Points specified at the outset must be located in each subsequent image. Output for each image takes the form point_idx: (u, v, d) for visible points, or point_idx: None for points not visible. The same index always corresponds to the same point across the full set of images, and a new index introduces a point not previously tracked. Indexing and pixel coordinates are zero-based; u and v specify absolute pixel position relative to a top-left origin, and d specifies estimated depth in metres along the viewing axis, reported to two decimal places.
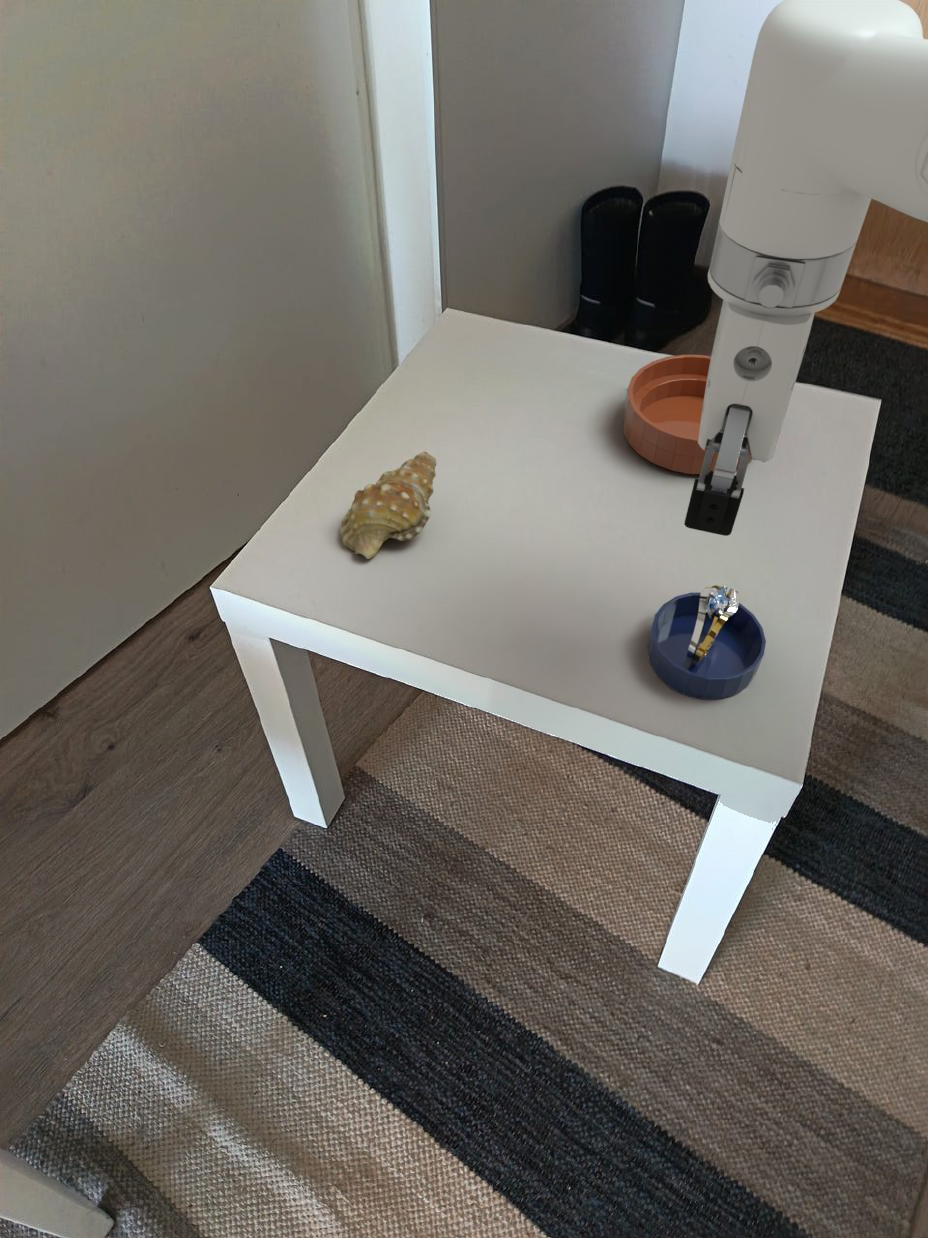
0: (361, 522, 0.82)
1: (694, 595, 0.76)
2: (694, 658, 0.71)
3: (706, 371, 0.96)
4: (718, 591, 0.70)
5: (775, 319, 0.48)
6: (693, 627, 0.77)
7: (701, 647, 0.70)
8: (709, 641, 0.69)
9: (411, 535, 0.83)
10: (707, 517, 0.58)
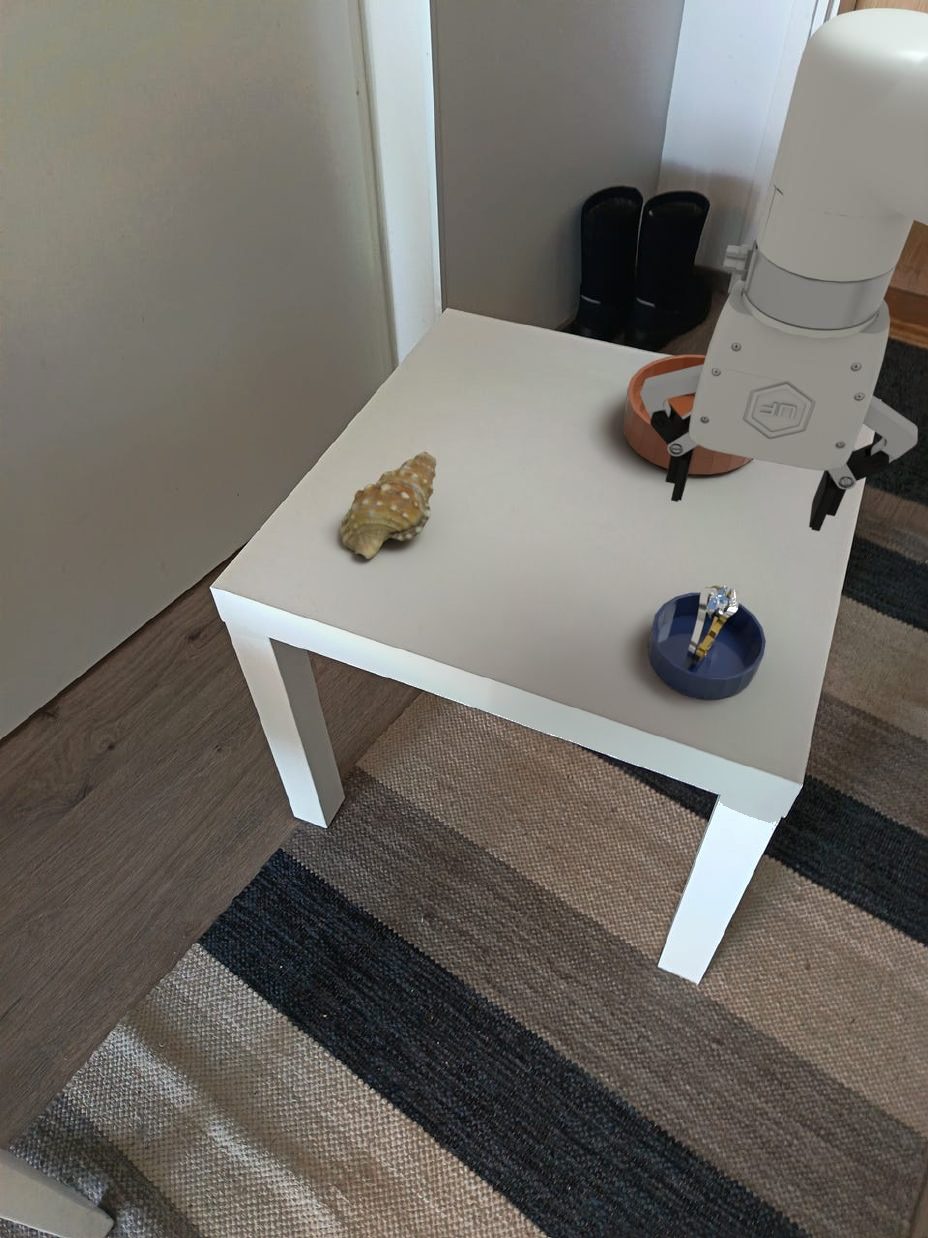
0: (361, 522, 0.82)
1: (694, 595, 0.76)
2: (694, 658, 0.71)
3: None
4: (718, 591, 0.70)
5: (736, 296, 0.50)
6: (693, 627, 0.77)
7: (701, 647, 0.70)
8: (709, 641, 0.69)
9: (411, 535, 0.83)
10: None
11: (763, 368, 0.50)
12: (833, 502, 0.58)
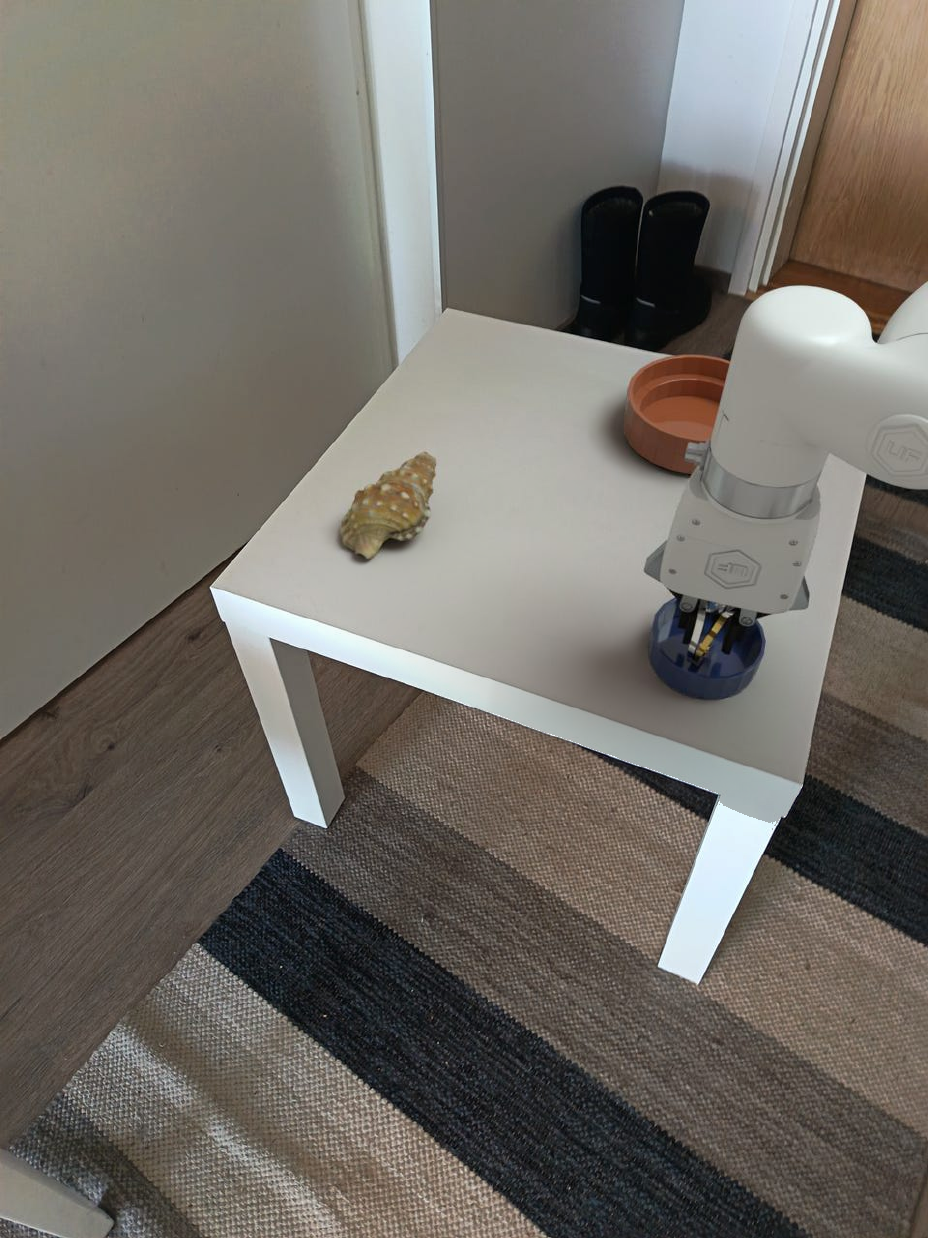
0: (361, 522, 0.82)
1: None
2: (694, 658, 0.71)
3: (706, 371, 0.96)
4: None
5: (695, 480, 0.61)
6: None
7: (701, 647, 0.70)
8: (709, 641, 0.69)
9: (411, 535, 0.83)
10: (681, 613, 0.73)
11: (718, 539, 0.61)
12: (739, 633, 0.71)
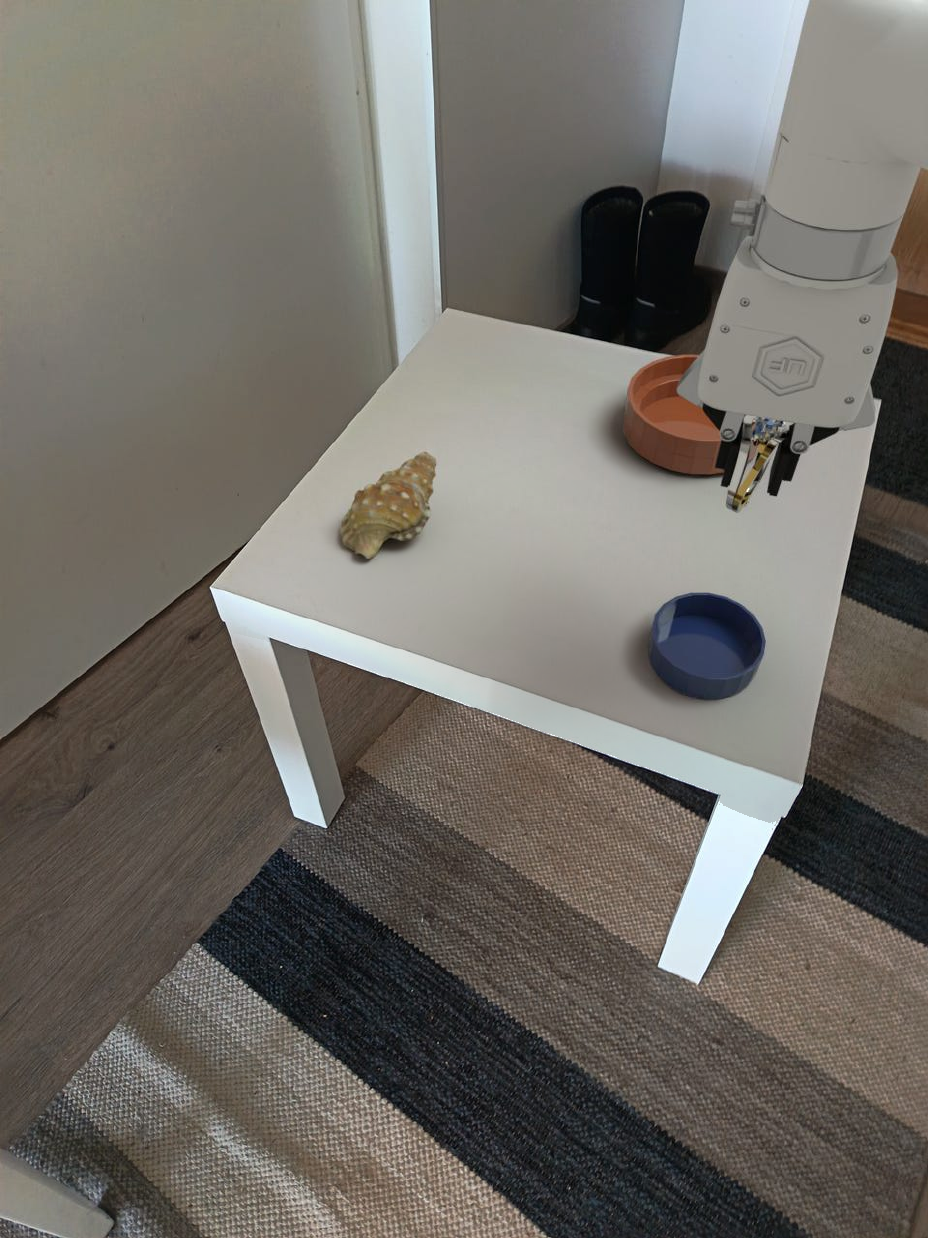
0: (361, 522, 0.82)
1: (694, 595, 0.76)
2: (736, 498, 0.60)
3: None
4: None
5: (744, 251, 0.50)
6: (693, 627, 0.77)
7: (745, 481, 0.59)
8: (755, 473, 0.59)
9: (411, 535, 0.83)
10: None
11: (772, 323, 0.51)
12: (789, 467, 0.60)
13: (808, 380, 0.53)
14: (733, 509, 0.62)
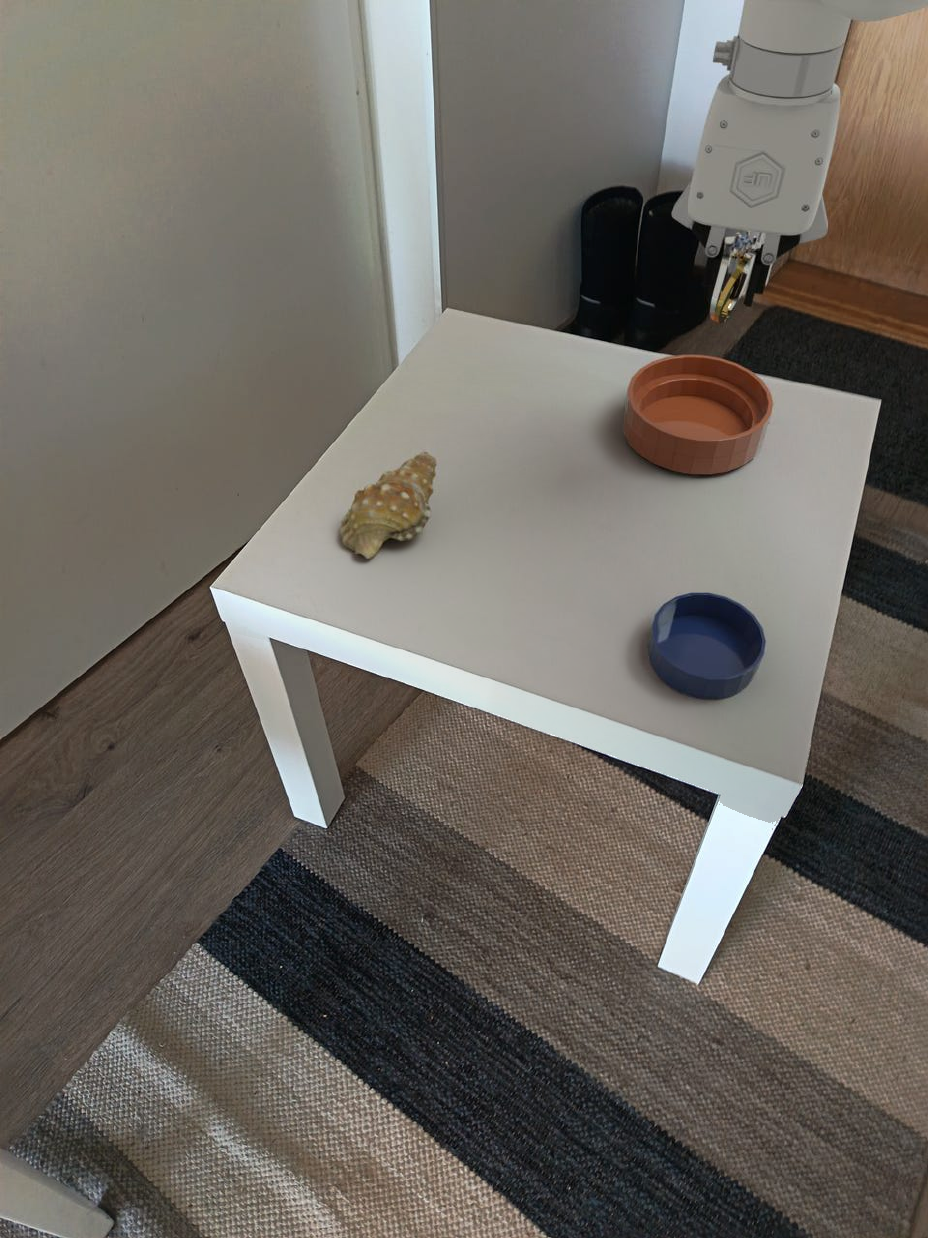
0: (361, 522, 0.82)
1: (694, 595, 0.76)
2: (718, 304, 0.75)
3: (706, 371, 0.96)
4: (741, 237, 0.74)
5: (723, 84, 0.65)
6: (693, 627, 0.77)
7: (725, 288, 0.74)
8: (733, 280, 0.73)
9: (411, 535, 0.83)
10: None
11: (744, 141, 0.65)
12: (761, 280, 0.75)
13: (773, 191, 0.67)
14: (715, 317, 0.77)
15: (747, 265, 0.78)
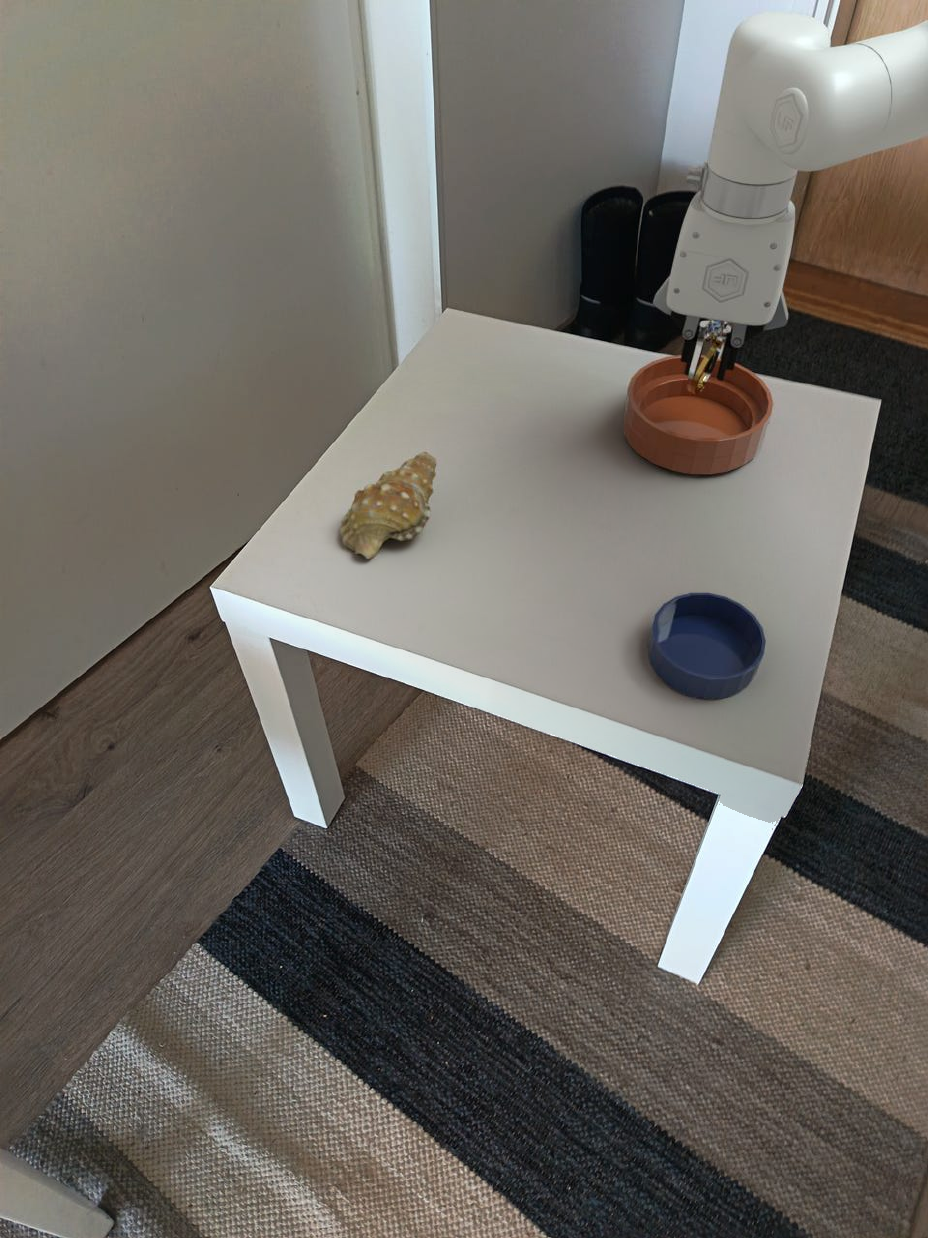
0: (361, 522, 0.82)
1: (694, 595, 0.76)
2: (694, 380, 0.86)
3: None
4: (714, 322, 0.85)
5: (695, 201, 0.76)
6: (693, 627, 0.77)
7: (700, 367, 0.85)
8: (706, 360, 0.84)
9: (411, 535, 0.83)
10: None
11: (714, 249, 0.76)
12: (731, 359, 0.86)
13: (739, 290, 0.78)
14: (692, 390, 0.87)
15: (720, 343, 0.89)
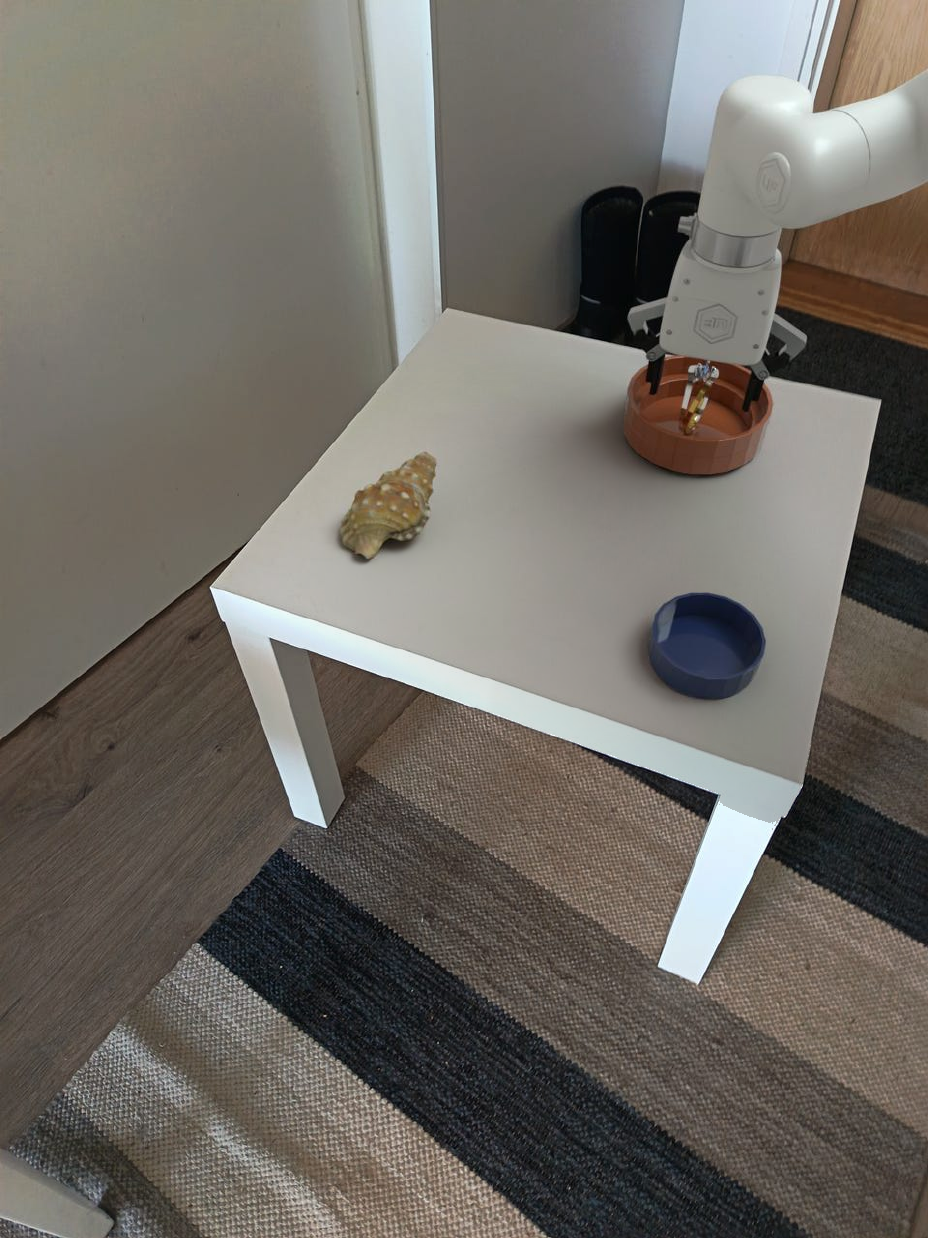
0: (361, 522, 0.82)
1: (694, 595, 0.76)
2: (684, 421, 0.90)
3: None
4: (702, 366, 0.89)
5: (686, 249, 0.79)
6: (693, 627, 0.77)
7: (690, 410, 0.89)
8: (696, 403, 0.88)
9: (411, 535, 0.83)
10: None
11: (704, 295, 0.80)
12: (756, 390, 0.87)
13: (729, 332, 0.82)
14: (683, 430, 0.91)
15: (710, 384, 0.92)
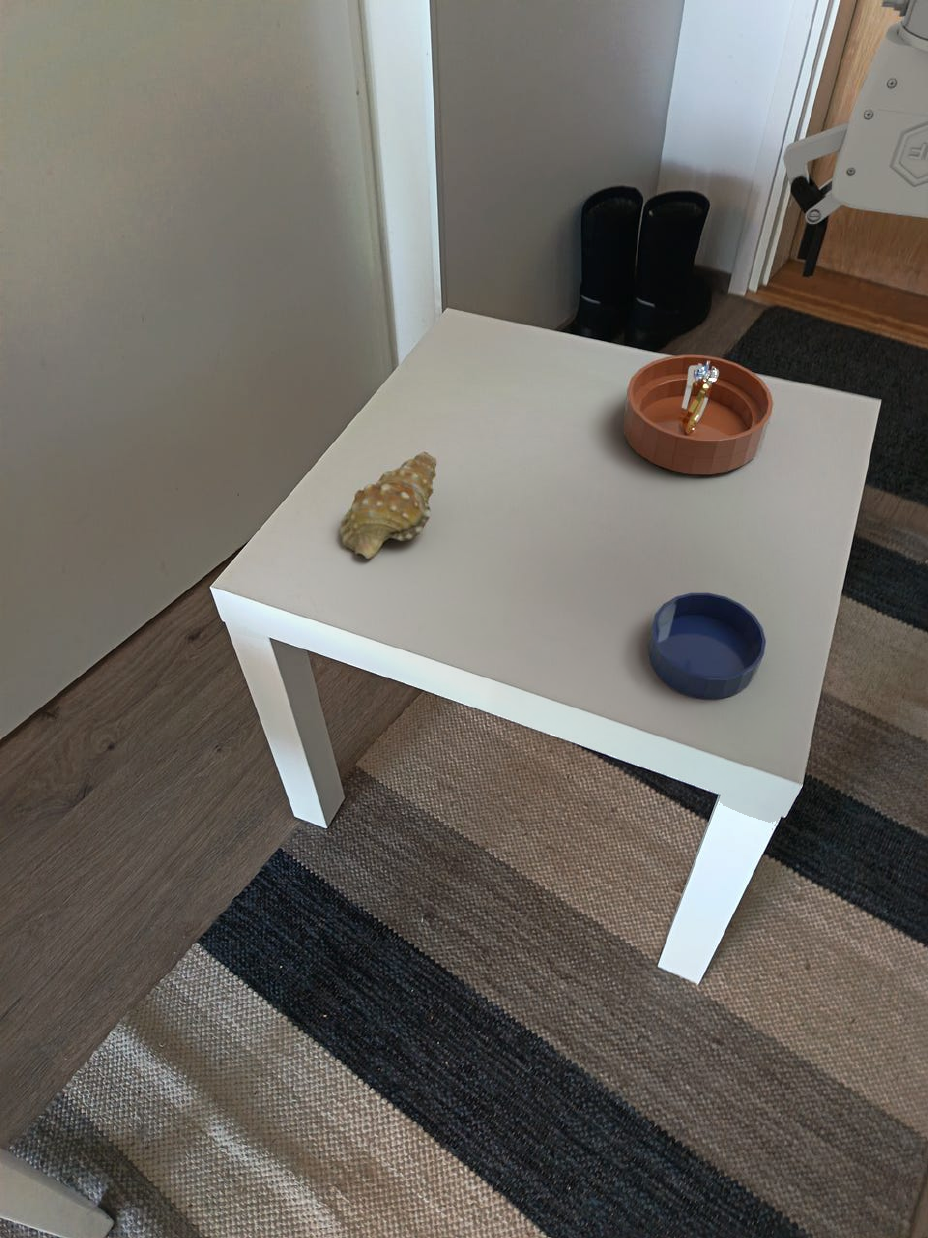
0: (361, 522, 0.82)
1: (694, 595, 0.76)
2: (684, 421, 0.90)
3: None
4: (702, 366, 0.89)
5: (892, 34, 0.53)
6: (693, 627, 0.77)
7: (690, 410, 0.89)
8: (696, 403, 0.88)
9: (411, 535, 0.83)
10: (802, 241, 0.65)
11: (917, 104, 0.54)
12: None
13: None
14: (683, 430, 0.91)
15: (710, 384, 0.92)
